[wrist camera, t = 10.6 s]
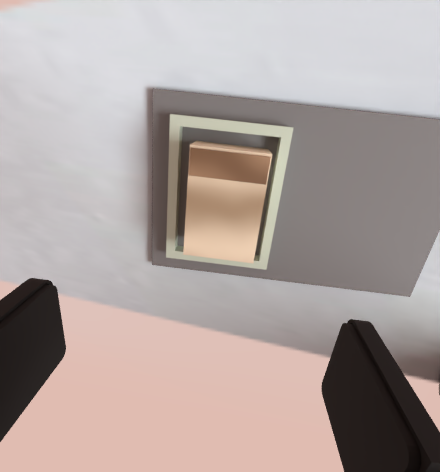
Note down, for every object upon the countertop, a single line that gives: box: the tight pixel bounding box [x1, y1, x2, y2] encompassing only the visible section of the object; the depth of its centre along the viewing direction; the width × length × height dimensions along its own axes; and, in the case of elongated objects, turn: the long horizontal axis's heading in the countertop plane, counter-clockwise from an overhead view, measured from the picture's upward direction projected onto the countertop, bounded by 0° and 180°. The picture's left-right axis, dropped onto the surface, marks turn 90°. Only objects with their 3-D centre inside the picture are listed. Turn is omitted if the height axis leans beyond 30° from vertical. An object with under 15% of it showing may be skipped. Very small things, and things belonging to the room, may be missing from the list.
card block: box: [183, 141, 272, 263], centre depth 24 cm, size 9×6×4 cm, turn 174°
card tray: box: [166, 114, 293, 270], centre depth 25 cm, size 13×10×1 cm
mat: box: [152, 89, 440, 297], centre depth 25 cm, size 26×16×1 cm, turn 84°
